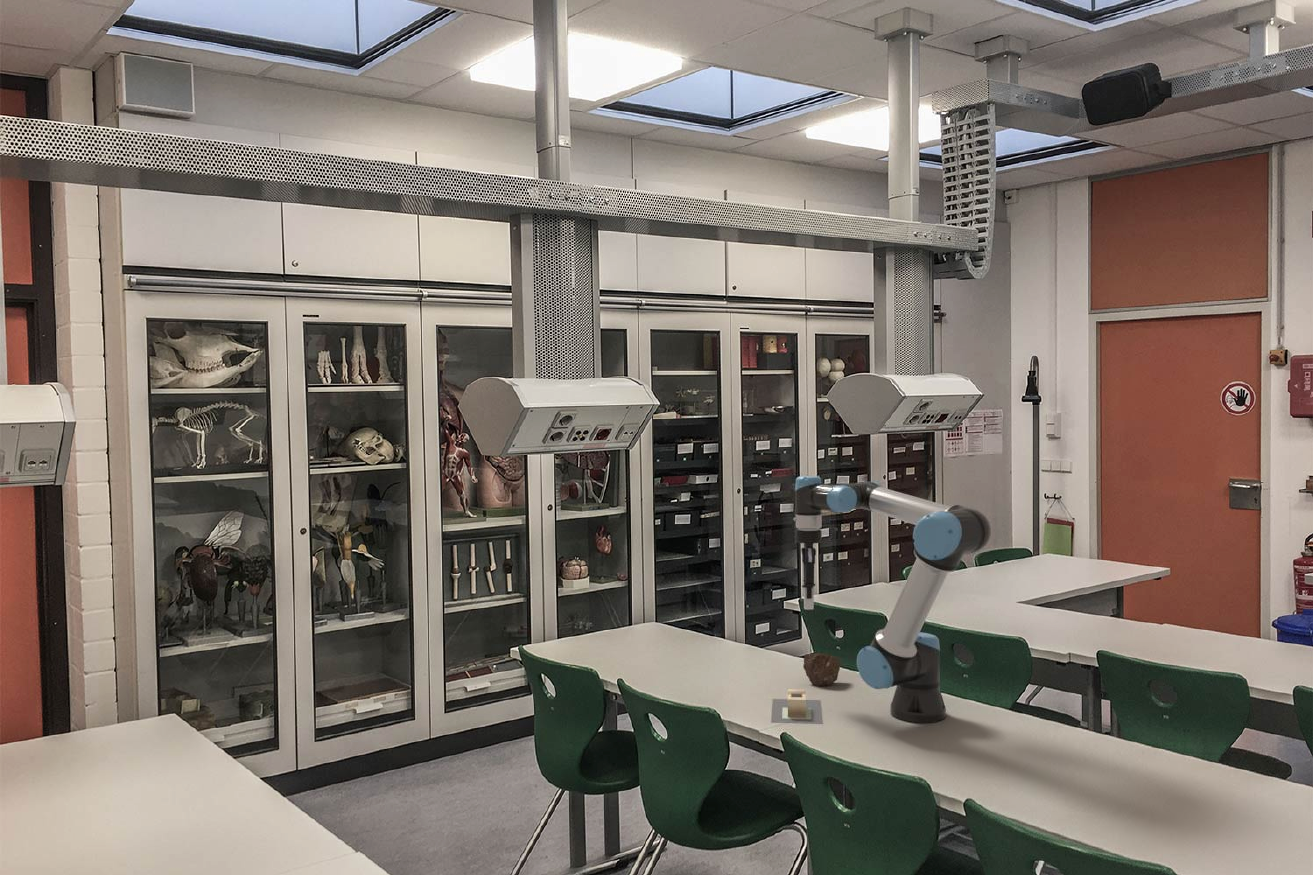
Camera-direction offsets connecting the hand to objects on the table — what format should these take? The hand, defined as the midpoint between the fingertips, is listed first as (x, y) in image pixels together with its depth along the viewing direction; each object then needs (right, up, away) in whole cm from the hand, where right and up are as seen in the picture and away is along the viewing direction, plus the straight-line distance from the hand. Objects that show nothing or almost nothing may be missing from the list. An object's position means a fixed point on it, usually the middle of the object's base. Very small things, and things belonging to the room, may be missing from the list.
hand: (808, 608), depth 304 cm
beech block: (-5, -25, -7) cm, 26 cm away
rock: (+7, -27, +17) cm, 32 cm away
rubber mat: (-5, -28, -10) cm, 30 cm away
